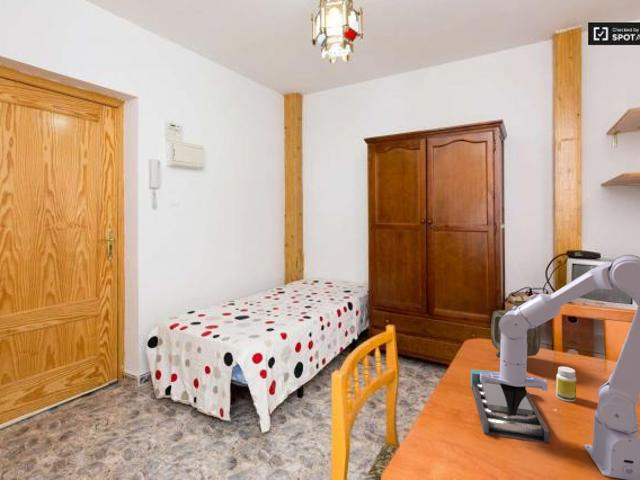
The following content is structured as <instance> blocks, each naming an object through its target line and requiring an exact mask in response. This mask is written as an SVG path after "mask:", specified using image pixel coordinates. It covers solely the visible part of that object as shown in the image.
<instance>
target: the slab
mask: <svg viewBox="0 0 640 480" xmlns="http://www.w3.org/2000/svg"><path fill="white" fill-rule="evenodd" d="M482 390H483V393H484V396H485V400H486V403H487V406H488V409H489V410H495V411H502V412H508V409H507V403H506V399H505V396H504V393H503V390H502V388H501V386H500V385H499V384H491V383H485V384H484V383H482ZM516 413H517V414H524V415H531V416H533V409H532V407H531V405H530V403H529V402H528V400H527V398H526V396H525V397H524V398H523V400H522V401H521V403H520V405H519V407H518V409H517V412H516Z"/></svg>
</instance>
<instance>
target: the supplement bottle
mask: <svg viewBox="0 0 640 480" xmlns="http://www.w3.org/2000/svg"><path fill="white" fill-rule="evenodd" d="M555 376H556V377H555V379H556V380H555V396H556V397H557V399H559V400H562V401H565V402H575V401H576V400H577V399H576V397H577V377H576V370H575V369H574V368H572V367H569V366H558V367H557V374H556V375H555Z"/></svg>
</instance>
